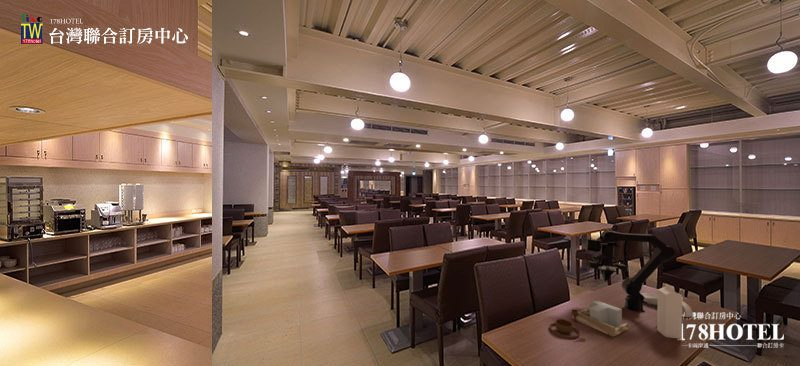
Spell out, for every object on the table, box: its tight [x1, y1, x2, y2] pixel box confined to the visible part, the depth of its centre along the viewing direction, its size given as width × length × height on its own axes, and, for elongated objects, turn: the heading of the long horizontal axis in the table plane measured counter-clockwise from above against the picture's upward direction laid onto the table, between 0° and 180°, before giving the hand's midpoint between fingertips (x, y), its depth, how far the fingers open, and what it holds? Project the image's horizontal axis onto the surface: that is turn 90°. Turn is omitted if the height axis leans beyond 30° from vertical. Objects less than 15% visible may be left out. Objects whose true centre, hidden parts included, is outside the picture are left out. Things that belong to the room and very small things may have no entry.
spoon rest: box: [640, 292, 694, 318], centre depth 155 cm, size 24×12×7 cm, turn 14°
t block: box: [589, 299, 623, 328], centre depth 137 cm, size 12×12×8 cm
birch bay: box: [571, 308, 629, 337], centre depth 136 cm, size 13×18×4 cm
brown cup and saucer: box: [549, 309, 587, 343], centre depth 130 cm, size 18×20×6 cm
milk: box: [656, 283, 683, 340], centre depth 127 cm, size 6×6×22 cm
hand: (605, 281), depth 157 cm, fingers closed
